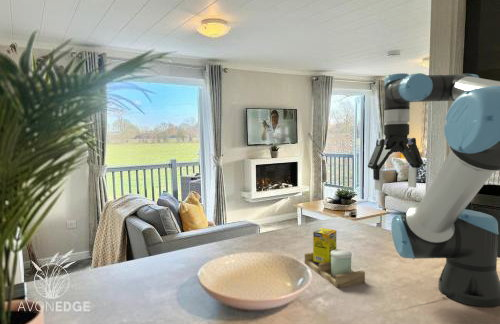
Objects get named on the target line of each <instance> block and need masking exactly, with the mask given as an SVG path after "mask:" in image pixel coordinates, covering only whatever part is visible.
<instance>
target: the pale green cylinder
mask: <svg viewBox="0 0 500 324" xmlns="http://www.w3.org/2000/svg"><path fill="white" fill-rule="evenodd" d="M351 270H352V252H351V251H350V250H347V249H343V248H336V249H335V250H332V251H331V276H332V277H333V278H334V279H335V275H340V274H345V273H351Z"/></svg>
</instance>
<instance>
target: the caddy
mask: <svg viewBox="0 0 500 324" xmlns="http://www.w3.org/2000/svg"><path fill="white" fill-rule="evenodd" d="M304 264H305V265H306V266H307V267H308V268H310V269H311V270H313V271H315V273H317V274H318V275H319V276H321V277H322V278H323V279H325V280H326V281H327V282H328V283H330V284H331V285H332V286H334V287H335V288H337V289H341V288H344V287H345V288H346V287H350V286H355V285H360V284H365V283H366V282H365V280H366V275H365V274H366V272H365V271H364V270H358V271H355V270H353V269H351V273H345V274H340V275H335V279H334V278H333V277H332V276H331V262H325V263H319V264H314V263H313V252H306V253H304Z"/></svg>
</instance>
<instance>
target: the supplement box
mask: <svg viewBox="0 0 500 324" xmlns="http://www.w3.org/2000/svg"><path fill="white" fill-rule="evenodd" d="M312 234H313V235H312V236H313V237H312V240H313V241H312V244H313V245H312V246H313V247H312V248H313V263H314V264H319V263H325V262H331V251H332V250H335V249H337V230H336V229H330V228H324V227H320V228H319V229H316V230H314V231H312Z"/></svg>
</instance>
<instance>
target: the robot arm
mask: <svg viewBox="0 0 500 324" xmlns="http://www.w3.org/2000/svg"><path fill="white" fill-rule="evenodd" d="M383 90H384V91H383V92H384V93H383V94H384V95H383V97H384V98H383V99H384V100H383V101H384V102H383V103H384V104H383V105H384V109H383V113H384V114H383V115H384V116H383V118H384V119H383V122H384V123H385V124H384V125H383V135H384V138H377V139H376V140H375V141H376V142H375V147H374V149H373V151H372V154H371V157H370V159H369V161H368V164H367V168H368V169H371V170H372V171H373V172H372V175H373V176H372V177H373V178H372V179H373V180H374V190H376V191H379V192H380V191H383V183H384V182H383V181H384V180H383V179H384V178H383V175H384V173H383V169H382V167H383V165H384V164H385V163H386V162H387V161H388V158H389V157H390V155H392V154H393V153H400V154H402V155H403V157H404V159H405V160H406V162H407V163H408V164H409V167H408V174H407V175H408V176H407V178H408V179H407V180H408V181H407V187H410V188H414V189H415V188H417V177H418V174H419V169H420V168H421V166H423V165H424V161H423V158H422V157H421V153H420V151H419V148H418V146H417V140H416V139H417V138H415V137H408V136H409V135H410V124H409V123H410V121H411V119H410V115H411V114H410V112H411V111H410V110H411V108H410V105H411V103H421V102H422V103H424V102H452V104H451V105H450V106H449V108H448V111H447V113H446V116H445V119H444V120H445V121H446V123H445V124H444V130H443V131H444V137H445V140H446V142H447V144H448V148H449V150H450V151H449V152H448V153H449V154H448V155H447V157H446V158H445V160H444V161H443V163H442V165H441V166H440V168H439V170H438V171H437V173H436V175H435V177H434V179H433V180H432V182H431V183H430V186H429V187H428V189H427V191H426V192H425V194H424V195H423V197H422V198H421V201H420V203H415V204H414V205H412V206H410V207H409V209H408V210H407V212H406V213H405V214H404V215H403V214H398V215H394V216H393V217H392V220H391V224H390V226H391V227H390V228H391V229H390V230H391V237H392V242H393V244H394V245H393V246H394V247H395V251H396V252H397V254H398V255H399V256H400V257H401V258H404V259H412V260H416V259H417V260H418V259H419V260H420V259H445V265H444V267H443V268H442V271H441V273H440V276H439V278H438V286H437V287H438V288H437V289H438V290H439V292H440V293H441V294H442V295H443V296H446V297H447V298H449V299H450V300H452V301H453V300H454V301H455V302H458V303H462V304H464V305H468V306H474V307H483V308H490V307H491V308H493V307H499V306H500V278H499V275H498V271H497V268H498V267H497V266H498V265H497V264H498V262H497V261H498V245H499V244H498V239H499V235H500V232H499V222H498V220H497V218H496V217H494V216H493V215H490V214H487V213H484V212H481V211H476V210H472V209H466V208H467V207H468V205H470V203H471V202H472V200H473V199H474V197H476V195H477V194H478V193H479V192H480V190H481V189H482V188H483V187H484V185H485V184H486V183H487V181H488V180H489V179H490V178H491V176H492V175H493V174H494V173H495V172H499V171H500V80H493V79H486V78H481V77H480V76H479V75H478V74H474V73H460V74H458V73H457V74H428V75H427V74H425V73H418V72H417V73H411V74H408V73H392V74H388V75H387V76H385V77H384V85H383Z"/></svg>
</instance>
